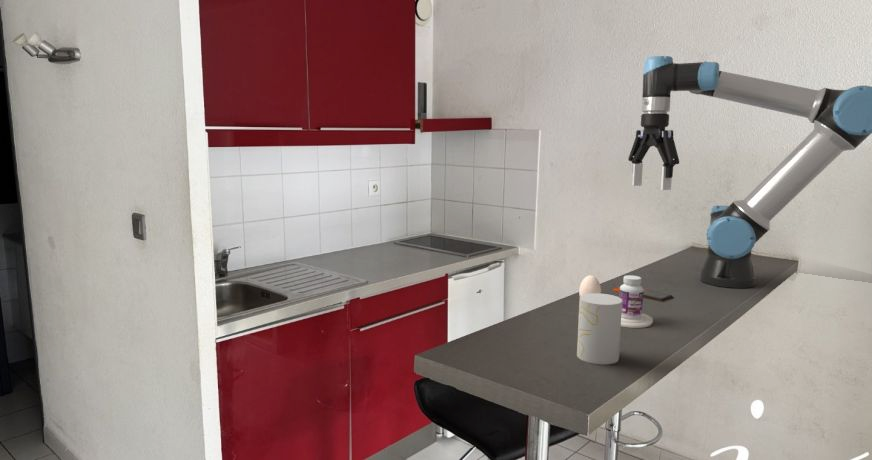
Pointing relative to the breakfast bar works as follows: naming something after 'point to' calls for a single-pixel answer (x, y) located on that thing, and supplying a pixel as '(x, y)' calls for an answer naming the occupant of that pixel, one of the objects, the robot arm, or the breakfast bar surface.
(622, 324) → the saucer
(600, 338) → the white upright cylinder
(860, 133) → the robot arm
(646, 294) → the phone
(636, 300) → the pill bottle
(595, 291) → the egg
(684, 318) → the breakfast bar surface
